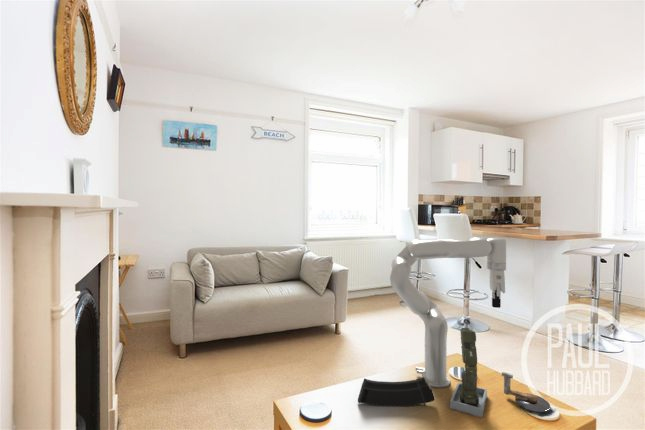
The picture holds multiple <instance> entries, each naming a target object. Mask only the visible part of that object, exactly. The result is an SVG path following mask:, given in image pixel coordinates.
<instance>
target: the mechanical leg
mask: <svg viewBox="0 0 645 430" xmlns="http://www.w3.org/2000/svg"><path fill="white" fill-rule="evenodd" d="M476 342H477V333H476V331H475V330H472V329H470V328H469V327H468V328H467V327H466V328H465V327H461V329H460V344H461V357H462V363H463V364H464V369H463V370H462V371H461V383H462V388H461V390H460V393H459V395H460V402H462V403H464V404H468V405H471V406H475V407H478V404H479V396H478V394H477V387H478V354H477V346H476Z"/></svg>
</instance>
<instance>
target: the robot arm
mask: <svg viewBox="0 0 645 430" xmlns="http://www.w3.org/2000/svg"><path fill="white" fill-rule="evenodd" d="M481 257H482V258H483V257H486V259H487V260H486V269H487V270H489V289H490V290H491V296H492V297H491V307H493V308H498V309H499V308H501V307H502V305H501V304H502V303H501V293H503V294H505V293H506V281H505V280H506V279H505V278H506V277H505V271H506V270H507V240H506V239H505V238H502V237H491V238H490V237H489V238H487V237H481V236H480V237H479V236H474V237H472V238H470V239H469V240H456V239H450V238H441V239H427V240H420V239H417V238H416V239H413V240H411V241H410V242H409V243H407V245H406V246H405V247H404V248H402V250H401V251H400V252H398V254H397V255H396V256H395V257H394V258H393V260H392V261H391V272H390V277H389V278H390V279H389V280H390V285H391V287H392V289H393V291H394V292H395V293H396V294H397V295H398V296H399V298H400V299H401V300H402V301H403V302H404V303H405V304H406V306H407V307H408V308H409V310H410V311H411V312H412V313H413V314H415V315H417V316H418V317H419V318H420V319H421V320H422V322H423V324H424V367H419V366H415V371H416V373H417V374H419V375H421V376H420V377H421V378H422V377H424V379H425V381H426V382H427V381H428V383H429V385H430V387H431V388H433V387H434V388H438V389H439V388H446V387H448V386H449V385H450V383H451V379H450V378H449V377H448V375H447V359H448V358H447V357H448V356H447V353H448V352H447V348H448V347H447V342H448V341H447V340H448V339H447V338H448V330H449V329H448V326H449V325H448V322H447V319H446V317H445V316H444V314H443V313H442V311H441V310H440V308H439V307H437V305H436V304H435V303H434V302H433V301H432V299H431V298H429V297H428V296H427V294H426V293H424V292H423V291H422V290H419V289H418V288H417V287H416V286H415V285H414V283H412V281H411V280H410V274H411V271H412V266H413V265H414V264H415V263H416V262H417V261H418V260H430V259H431V260H432V259H466V258H467V259H469V258H472V259H473V258H481ZM421 378H420V379H421Z"/></svg>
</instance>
